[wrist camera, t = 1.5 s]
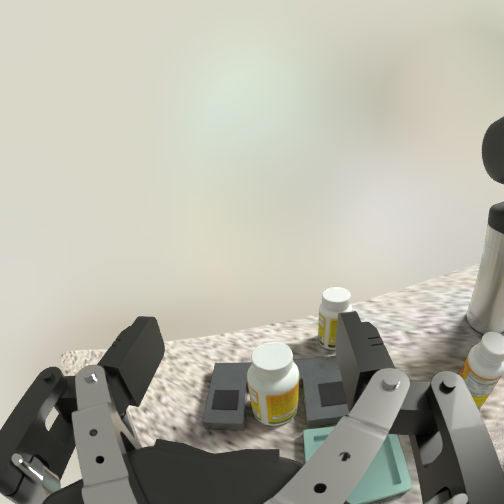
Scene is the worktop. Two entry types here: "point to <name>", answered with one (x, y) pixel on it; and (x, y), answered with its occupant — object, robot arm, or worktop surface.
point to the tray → (370, 468)
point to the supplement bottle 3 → (484, 367)
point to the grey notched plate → (310, 377)
